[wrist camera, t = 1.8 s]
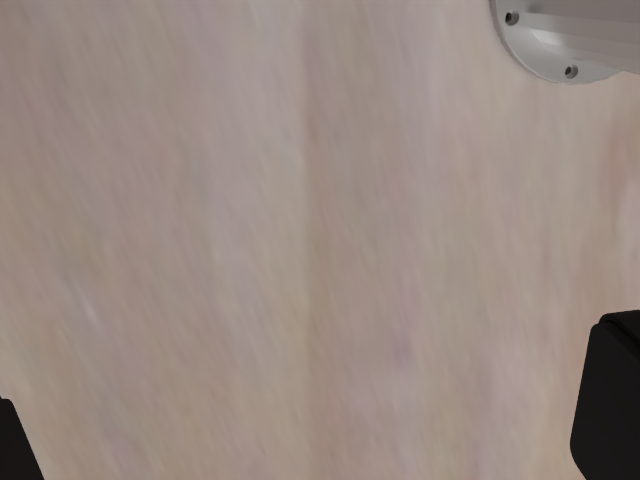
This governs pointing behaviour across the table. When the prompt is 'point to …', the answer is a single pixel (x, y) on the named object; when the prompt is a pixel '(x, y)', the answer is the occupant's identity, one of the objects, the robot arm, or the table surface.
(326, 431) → the table surface
